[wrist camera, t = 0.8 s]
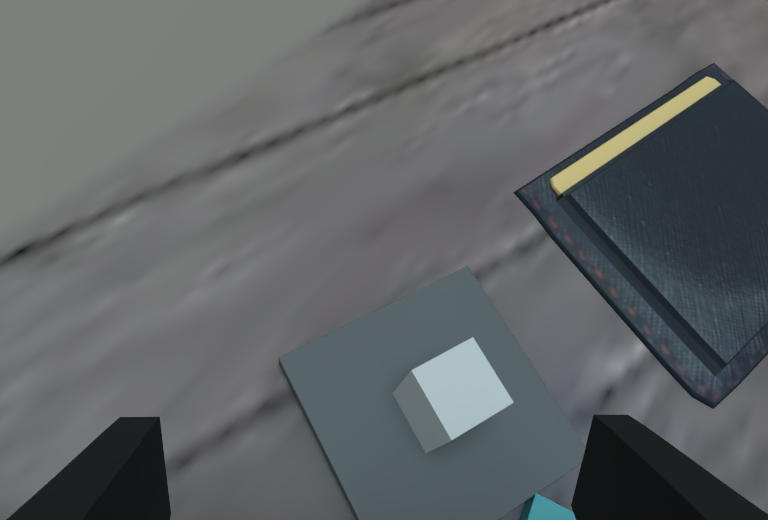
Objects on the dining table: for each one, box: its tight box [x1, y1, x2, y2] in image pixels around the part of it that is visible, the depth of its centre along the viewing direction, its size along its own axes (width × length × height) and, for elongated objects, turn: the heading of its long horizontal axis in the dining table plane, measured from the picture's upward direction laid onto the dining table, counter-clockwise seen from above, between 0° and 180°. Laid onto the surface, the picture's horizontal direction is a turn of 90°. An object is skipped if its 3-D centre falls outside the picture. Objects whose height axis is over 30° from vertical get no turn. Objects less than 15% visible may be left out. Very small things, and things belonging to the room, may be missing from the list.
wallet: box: [514, 63, 768, 408], centre depth 33 cm, size 20×2×15 cm
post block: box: [279, 266, 586, 520], centre depth 23 cm, size 10×10×5 cm
